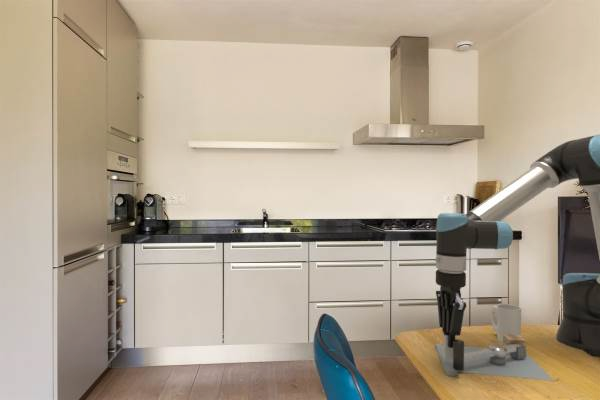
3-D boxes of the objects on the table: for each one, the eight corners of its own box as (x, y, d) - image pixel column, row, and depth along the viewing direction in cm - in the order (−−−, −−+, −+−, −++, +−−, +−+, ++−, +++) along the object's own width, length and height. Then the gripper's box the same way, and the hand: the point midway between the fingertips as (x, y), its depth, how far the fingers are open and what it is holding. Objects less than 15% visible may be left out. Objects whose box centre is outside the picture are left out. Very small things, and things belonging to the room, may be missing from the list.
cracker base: (524, 355, 108) (524, 345, 108) (554, 385, 90) (554, 373, 90) (435, 347, 113) (435, 337, 113) (446, 375, 95) (446, 363, 95)
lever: (514, 353, 105) (514, 327, 105) (528, 359, 101) (529, 332, 101) (448, 367, 96) (448, 338, 96) (461, 374, 92) (461, 344, 92)
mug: (526, 347, 114) (526, 308, 114) (510, 349, 112) (510, 310, 112) (498, 336, 123) (498, 300, 124) (483, 338, 121) (483, 302, 121)
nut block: (518, 350, 108) (518, 334, 108) (526, 356, 104) (526, 340, 104) (502, 349, 109) (502, 334, 109) (509, 355, 105) (509, 339, 105)
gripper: (427, 265, 104) (425, 348, 105) (447, 275, 92) (446, 369, 92) (453, 266, 105) (451, 347, 105) (476, 275, 92) (475, 368, 92)
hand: (448, 357), depth 98 cm, fingers closed
